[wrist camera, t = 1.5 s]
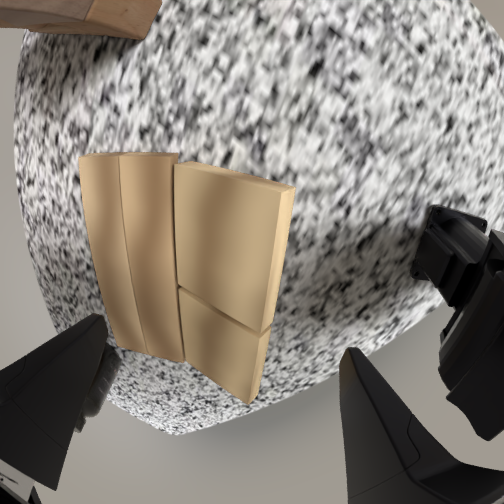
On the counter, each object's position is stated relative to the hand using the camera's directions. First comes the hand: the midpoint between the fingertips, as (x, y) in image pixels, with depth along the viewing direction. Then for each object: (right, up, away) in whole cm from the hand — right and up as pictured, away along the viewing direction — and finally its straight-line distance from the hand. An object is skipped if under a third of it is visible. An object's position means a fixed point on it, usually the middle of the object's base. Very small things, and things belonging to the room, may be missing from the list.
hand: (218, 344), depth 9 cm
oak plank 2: (-1, -5, +14) cm, 15 cm away
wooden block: (-10, +22, +4) cm, 24 cm away
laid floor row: (-9, +2, +14) cm, 17 cm away
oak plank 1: (0, +4, +9) cm, 10 cm away
